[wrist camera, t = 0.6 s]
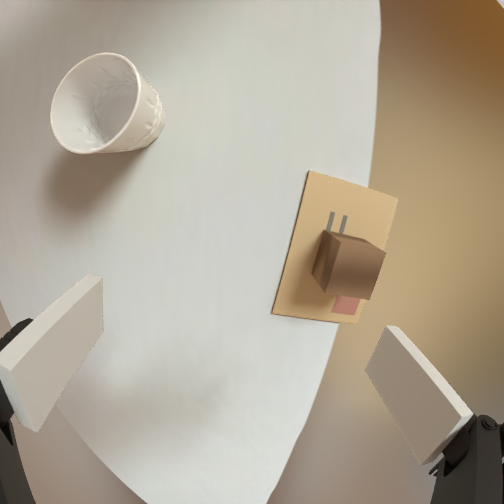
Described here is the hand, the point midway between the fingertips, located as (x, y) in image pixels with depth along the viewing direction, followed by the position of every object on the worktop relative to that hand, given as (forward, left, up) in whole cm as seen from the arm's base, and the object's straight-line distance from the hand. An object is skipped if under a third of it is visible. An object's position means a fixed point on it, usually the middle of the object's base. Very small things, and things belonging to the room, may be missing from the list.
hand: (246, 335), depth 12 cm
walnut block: (0, +11, -18) cm, 21 cm away
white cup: (-10, -13, -18) cm, 25 cm away
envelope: (0, +11, -18) cm, 21 cm away
